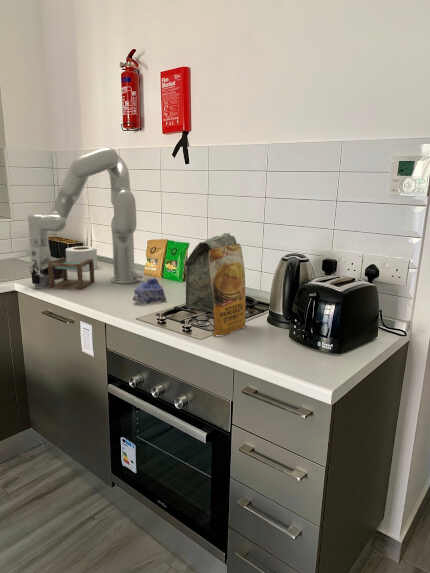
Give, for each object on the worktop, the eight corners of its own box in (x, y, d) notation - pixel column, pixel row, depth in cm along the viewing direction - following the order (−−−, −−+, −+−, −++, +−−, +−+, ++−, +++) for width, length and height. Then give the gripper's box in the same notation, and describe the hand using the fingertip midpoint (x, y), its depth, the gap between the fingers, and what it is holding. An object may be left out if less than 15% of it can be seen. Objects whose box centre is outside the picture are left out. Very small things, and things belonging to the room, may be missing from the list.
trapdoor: (87, 264, 200) (87, 262, 200) (77, 269, 189) (77, 267, 189) (66, 263, 201) (65, 261, 201) (54, 268, 190) (54, 266, 190)
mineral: (154, 274, 181) (167, 277, 173) (158, 296, 183) (171, 300, 176) (123, 283, 173) (135, 287, 165) (127, 306, 175) (139, 310, 167)
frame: (94, 281, 203) (93, 258, 201) (81, 289, 189) (80, 265, 187) (64, 280, 205) (63, 257, 202) (49, 288, 191) (47, 263, 188)
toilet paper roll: (60, 269, 229) (59, 248, 226) (84, 264, 241) (83, 244, 239) (80, 273, 221) (79, 251, 218) (103, 268, 233) (102, 247, 230)
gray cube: (51, 285, 197) (50, 274, 196) (45, 287, 192) (44, 276, 191) (40, 284, 197) (39, 273, 196) (34, 287, 193) (33, 276, 191)
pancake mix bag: (199, 334, 140) (200, 247, 133) (237, 320, 154) (240, 241, 147) (215, 340, 136) (217, 250, 129) (253, 325, 149) (256, 243, 142)
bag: (209, 294, 186) (210, 230, 179) (243, 300, 179) (246, 233, 172) (181, 308, 166) (180, 236, 160) (218, 315, 159) (220, 240, 152)
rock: (39, 280, 210) (50, 283, 204) (34, 263, 207) (45, 265, 201) (61, 272, 218) (72, 275, 212) (57, 256, 215) (68, 258, 209)
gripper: (37, 246, 181) (39, 286, 185) (56, 240, 198) (58, 277, 202) (20, 245, 182) (23, 285, 186) (40, 239, 198) (43, 276, 203)
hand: (41, 281), depth 194 cm, fingers open, 9 cm apart
